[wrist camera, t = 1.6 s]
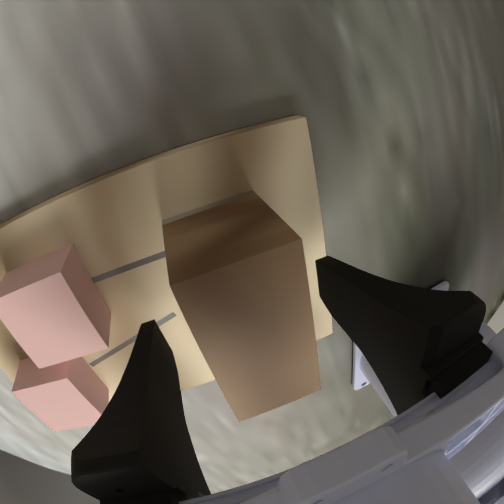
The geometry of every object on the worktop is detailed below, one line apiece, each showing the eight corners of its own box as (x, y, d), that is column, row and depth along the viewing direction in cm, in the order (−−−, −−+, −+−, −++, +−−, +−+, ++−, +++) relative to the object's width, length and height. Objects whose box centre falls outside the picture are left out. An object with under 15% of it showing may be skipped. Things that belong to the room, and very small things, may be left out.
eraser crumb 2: (72, 344, 14) (66, 378, 12) (108, 389, 16) (108, 421, 14) (20, 360, 14) (11, 391, 12) (58, 401, 16) (55, 431, 14)
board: (296, 115, 13) (306, 117, 13) (325, 323, 20) (332, 333, 19) (-61, 261, 10) (-69, 270, 10) (55, 411, 17) (54, 422, 16)
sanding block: (252, 189, 13) (301, 238, 9) (282, 324, 18) (321, 389, 13) (161, 220, 13) (169, 285, 9) (215, 349, 17) (239, 421, 13)
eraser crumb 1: (72, 243, 12) (60, 271, 10) (111, 313, 14) (108, 348, 12) (6, 272, 11) (-11, 302, 9) (48, 335, 13) (39, 368, 11)
